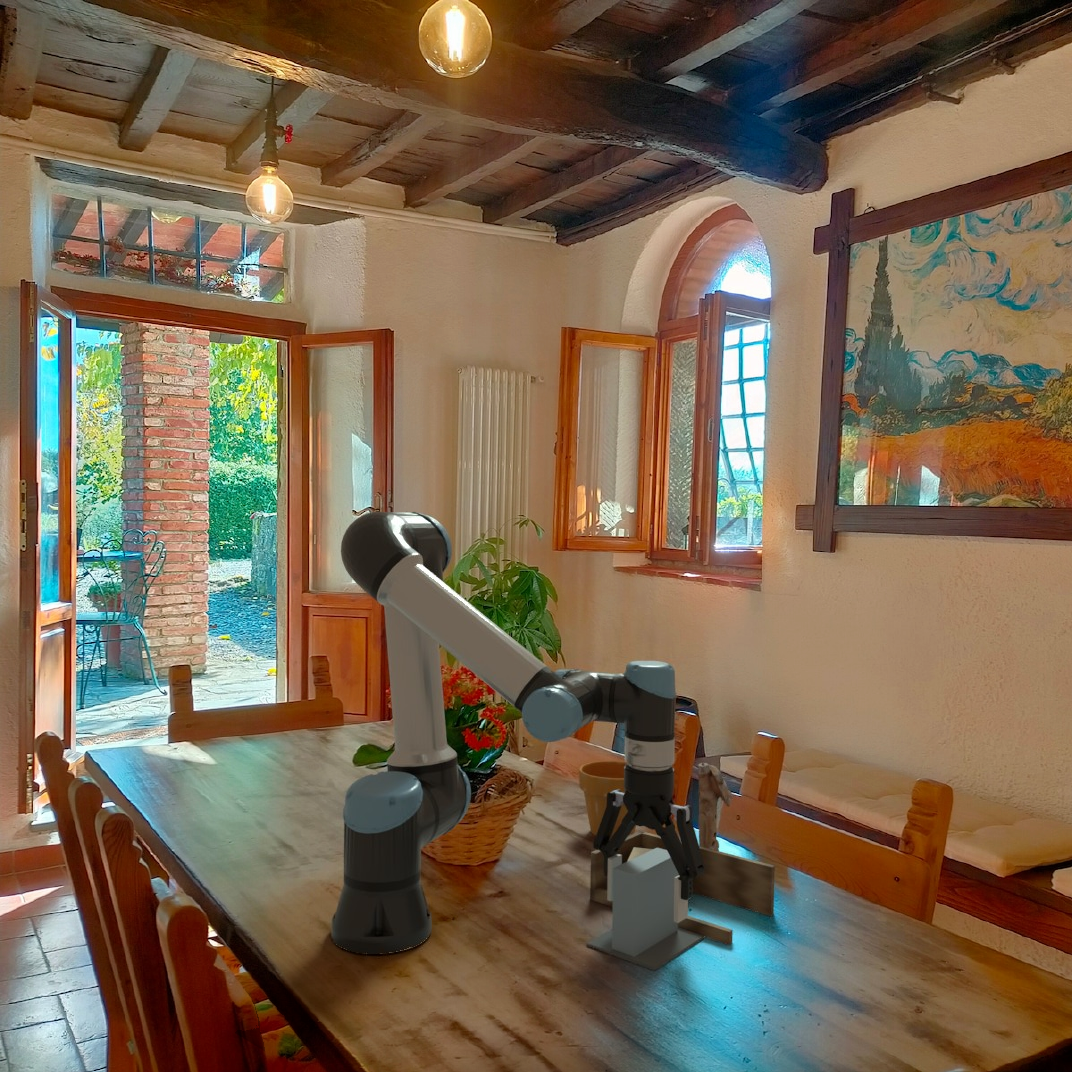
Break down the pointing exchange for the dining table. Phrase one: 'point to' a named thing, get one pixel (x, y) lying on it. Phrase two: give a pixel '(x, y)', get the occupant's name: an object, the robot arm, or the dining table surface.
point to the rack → (703, 883)
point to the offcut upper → (638, 852)
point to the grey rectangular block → (643, 902)
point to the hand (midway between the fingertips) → (646, 908)
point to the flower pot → (602, 790)
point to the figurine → (710, 803)
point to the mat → (651, 948)
